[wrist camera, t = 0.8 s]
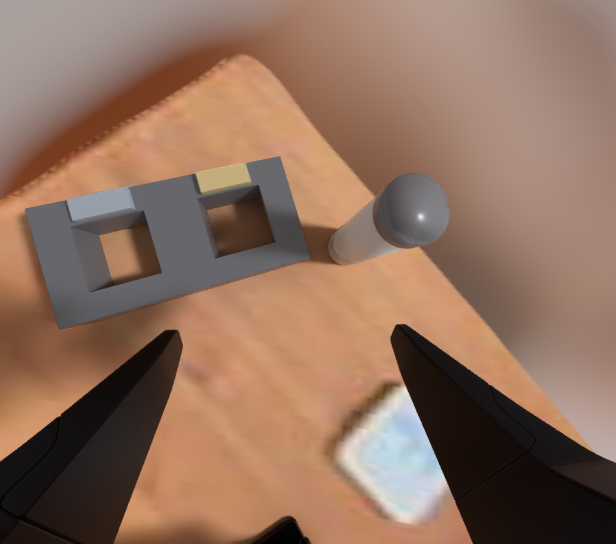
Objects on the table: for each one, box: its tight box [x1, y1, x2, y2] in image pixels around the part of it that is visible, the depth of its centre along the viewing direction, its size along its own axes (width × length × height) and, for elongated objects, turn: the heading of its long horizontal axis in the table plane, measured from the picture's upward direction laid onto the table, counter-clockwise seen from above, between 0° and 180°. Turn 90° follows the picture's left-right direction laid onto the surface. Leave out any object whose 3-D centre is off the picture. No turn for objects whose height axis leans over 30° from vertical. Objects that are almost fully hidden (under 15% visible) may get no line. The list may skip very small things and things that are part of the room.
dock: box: [25, 156, 310, 330], centre depth 21 cm, size 21×10×4 cm, turn 107°
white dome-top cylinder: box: [328, 173, 450, 266], centre depth 19 cm, size 4×4×12 cm
